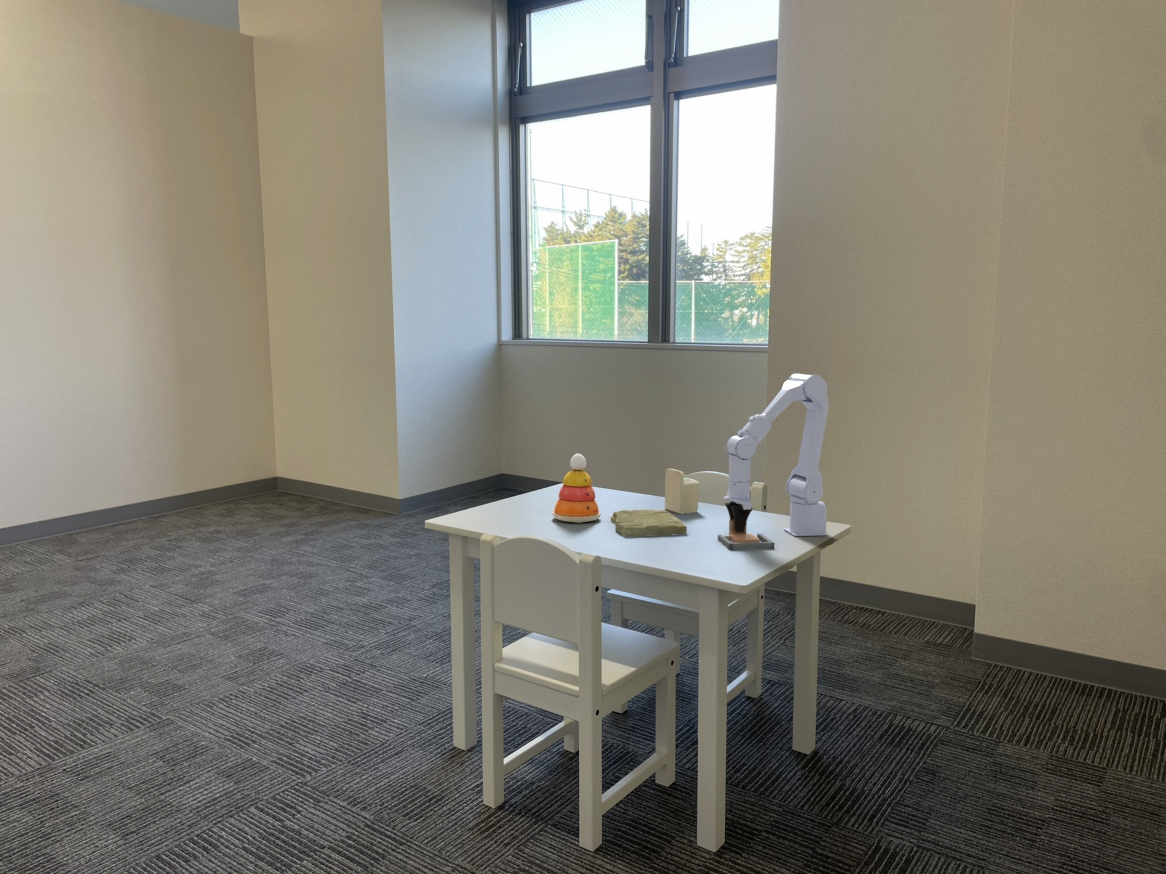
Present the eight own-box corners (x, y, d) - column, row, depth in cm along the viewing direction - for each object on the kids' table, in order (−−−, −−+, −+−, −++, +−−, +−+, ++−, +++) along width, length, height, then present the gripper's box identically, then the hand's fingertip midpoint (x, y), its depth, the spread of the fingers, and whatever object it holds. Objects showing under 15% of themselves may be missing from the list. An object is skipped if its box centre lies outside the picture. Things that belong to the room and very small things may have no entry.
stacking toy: (581, 527, 245) (581, 459, 242) (542, 520, 253) (542, 454, 251) (610, 518, 256) (611, 453, 253) (572, 512, 264) (572, 449, 262)
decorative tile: (666, 519, 257) (667, 508, 257) (687, 536, 238) (687, 523, 237) (605, 522, 253) (605, 510, 253) (621, 538, 234) (621, 526, 234)
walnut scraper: (750, 536, 235) (750, 518, 235) (754, 539, 232) (754, 521, 231) (721, 537, 234) (722, 519, 233) (725, 540, 231) (726, 522, 230)
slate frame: (760, 540, 233) (760, 533, 233) (774, 550, 223) (774, 542, 223) (717, 542, 231) (717, 534, 231) (729, 551, 221) (729, 544, 221)
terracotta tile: (751, 540, 232) (751, 533, 232) (759, 546, 226) (759, 539, 226) (730, 541, 231) (730, 534, 231) (737, 547, 225) (737, 539, 225)
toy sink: (700, 512, 266) (701, 470, 264) (680, 514, 262) (681, 472, 260) (683, 507, 273) (684, 466, 271) (664, 509, 269) (665, 467, 268)
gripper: (716, 476, 238) (715, 524, 240) (733, 486, 224) (732, 537, 225) (741, 475, 239) (739, 523, 241) (759, 485, 225) (757, 536, 226)
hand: (737, 530), depth 233 cm, fingers closed on walnut scraper, 2 cm apart
